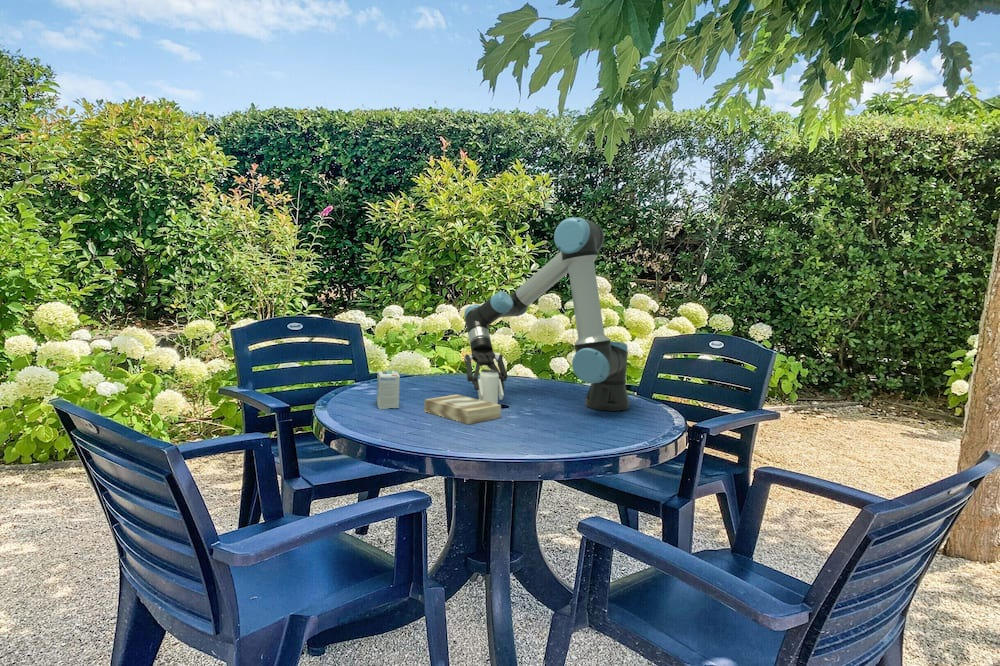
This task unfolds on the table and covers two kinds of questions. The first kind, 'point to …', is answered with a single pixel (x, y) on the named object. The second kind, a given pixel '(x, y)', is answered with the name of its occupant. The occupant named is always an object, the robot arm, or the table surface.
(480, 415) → the block
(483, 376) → the can
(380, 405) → the light bulb box
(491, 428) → the table surface
